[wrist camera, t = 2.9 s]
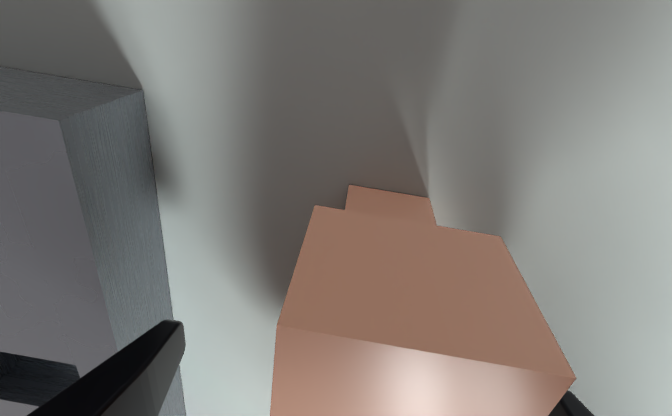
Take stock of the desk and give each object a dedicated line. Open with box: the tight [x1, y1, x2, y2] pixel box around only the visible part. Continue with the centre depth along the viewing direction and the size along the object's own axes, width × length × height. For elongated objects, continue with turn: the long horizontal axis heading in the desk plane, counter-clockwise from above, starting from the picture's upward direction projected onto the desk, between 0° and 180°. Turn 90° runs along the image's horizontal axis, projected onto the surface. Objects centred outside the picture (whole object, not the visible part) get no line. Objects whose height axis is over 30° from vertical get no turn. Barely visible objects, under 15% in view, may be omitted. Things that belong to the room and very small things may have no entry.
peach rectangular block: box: [270, 185, 576, 416], centre depth 8 cm, size 3×9×6 cm, turn 173°
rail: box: [0, 67, 186, 416], centre depth 13 cm, size 6×22×2 cm, turn 173°
